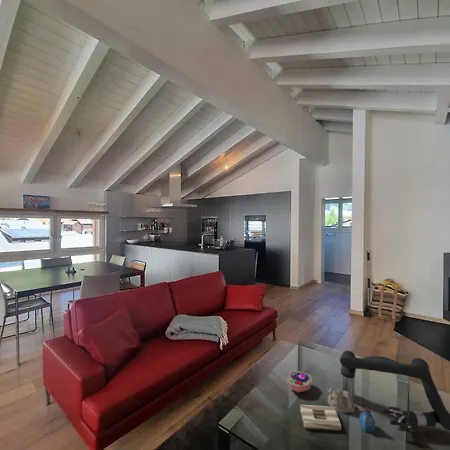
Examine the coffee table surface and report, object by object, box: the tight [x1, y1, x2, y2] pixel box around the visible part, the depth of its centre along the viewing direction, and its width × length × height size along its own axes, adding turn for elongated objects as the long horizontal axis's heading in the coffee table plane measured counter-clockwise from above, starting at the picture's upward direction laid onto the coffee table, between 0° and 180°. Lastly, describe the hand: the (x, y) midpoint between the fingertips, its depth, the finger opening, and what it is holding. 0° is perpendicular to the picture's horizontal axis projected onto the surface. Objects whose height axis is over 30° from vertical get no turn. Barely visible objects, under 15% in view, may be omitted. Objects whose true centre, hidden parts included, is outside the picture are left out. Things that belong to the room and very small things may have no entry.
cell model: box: [286, 370, 313, 393], centre depth 200 cm, size 17×20×11 cm
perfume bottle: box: [359, 406, 376, 433], centre depth 164 cm, size 6×6×12 cm
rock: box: [327, 387, 356, 414], centre depth 184 cm, size 16×16×15 cm
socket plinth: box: [299, 404, 342, 432], centre depth 171 cm, size 15×22×4 cm
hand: (386, 416), depth 163 cm, fingers open, 8 cm apart
